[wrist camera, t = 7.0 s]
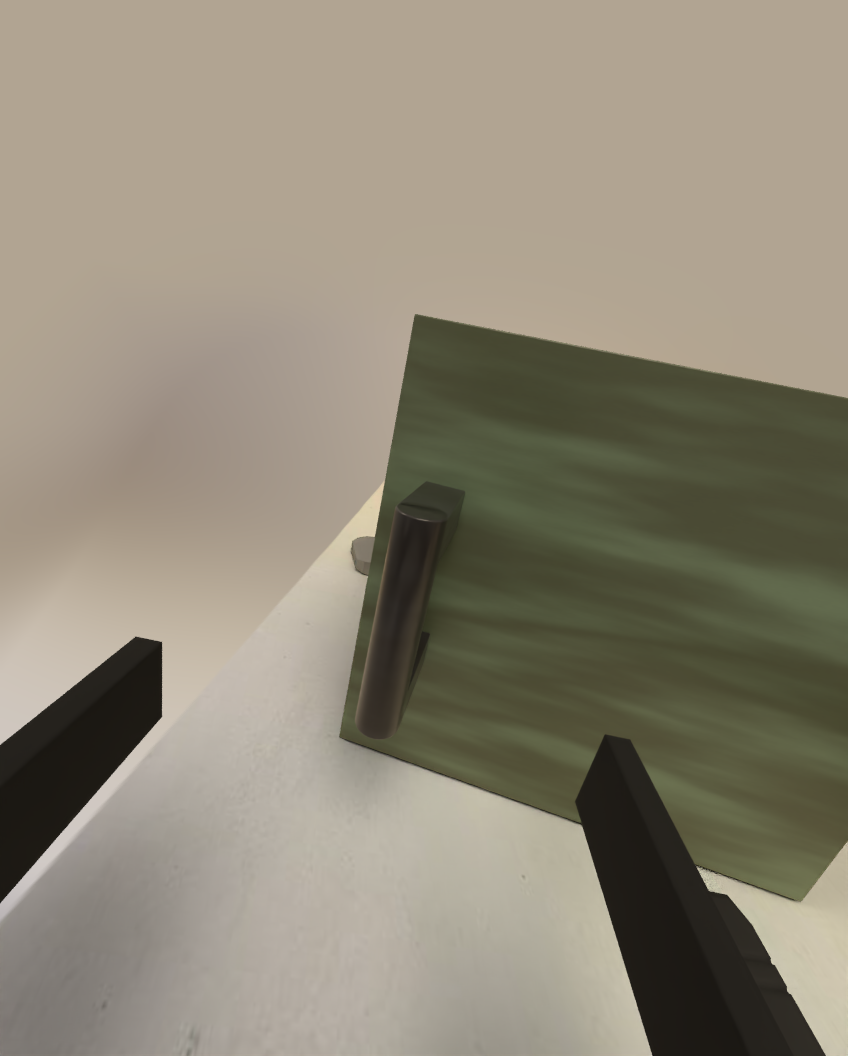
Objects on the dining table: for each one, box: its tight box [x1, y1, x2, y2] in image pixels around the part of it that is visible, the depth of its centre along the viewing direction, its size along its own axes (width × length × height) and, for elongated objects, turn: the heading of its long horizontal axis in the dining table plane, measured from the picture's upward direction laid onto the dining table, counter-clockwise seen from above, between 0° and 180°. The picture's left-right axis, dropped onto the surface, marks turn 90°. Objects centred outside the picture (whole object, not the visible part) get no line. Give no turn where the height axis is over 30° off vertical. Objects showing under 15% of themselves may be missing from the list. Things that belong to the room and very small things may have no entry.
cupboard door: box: [339, 314, 848, 902], centre depth 18 cm, size 7×26×24 cm, turn 77°
